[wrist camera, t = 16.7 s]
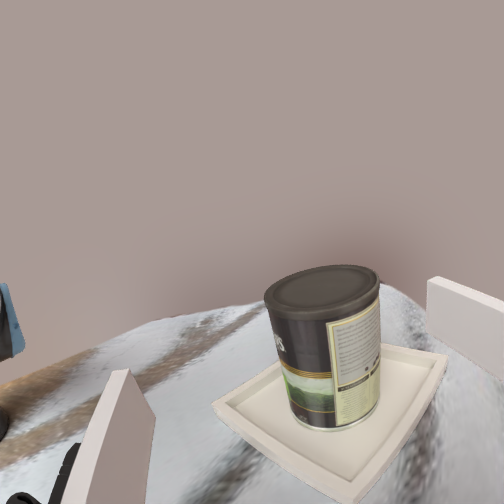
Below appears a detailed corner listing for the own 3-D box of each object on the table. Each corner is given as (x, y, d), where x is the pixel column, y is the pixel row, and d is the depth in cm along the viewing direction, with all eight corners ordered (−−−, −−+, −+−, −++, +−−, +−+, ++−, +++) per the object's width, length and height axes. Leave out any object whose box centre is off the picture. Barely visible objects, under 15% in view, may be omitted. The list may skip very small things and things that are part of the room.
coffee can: (285, 437, 23) (253, 319, 20) (293, 376, 32) (271, 274, 30) (388, 423, 20) (393, 295, 17) (373, 364, 30) (366, 257, 27)
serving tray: (217, 416, 29) (210, 403, 28) (323, 342, 40) (321, 328, 40) (352, 509, 13) (353, 499, 12) (445, 371, 24) (448, 355, 24)
